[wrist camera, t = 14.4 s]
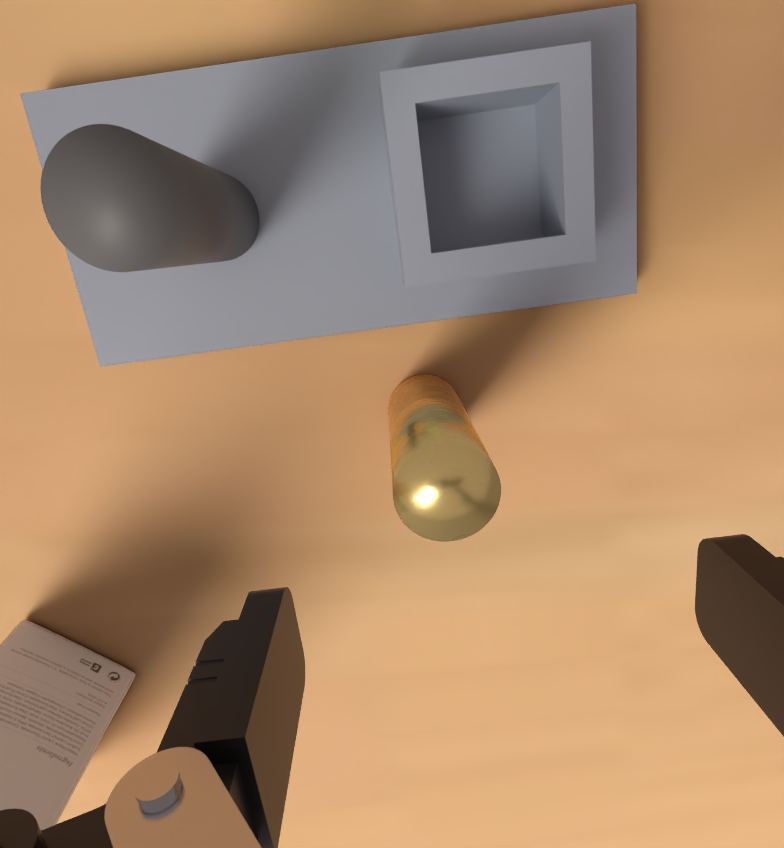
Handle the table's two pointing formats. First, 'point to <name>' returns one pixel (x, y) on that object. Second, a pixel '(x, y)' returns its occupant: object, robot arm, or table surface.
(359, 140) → the board
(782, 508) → the table surface
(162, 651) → the table surface
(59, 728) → the skincare box
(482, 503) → the brass pin
